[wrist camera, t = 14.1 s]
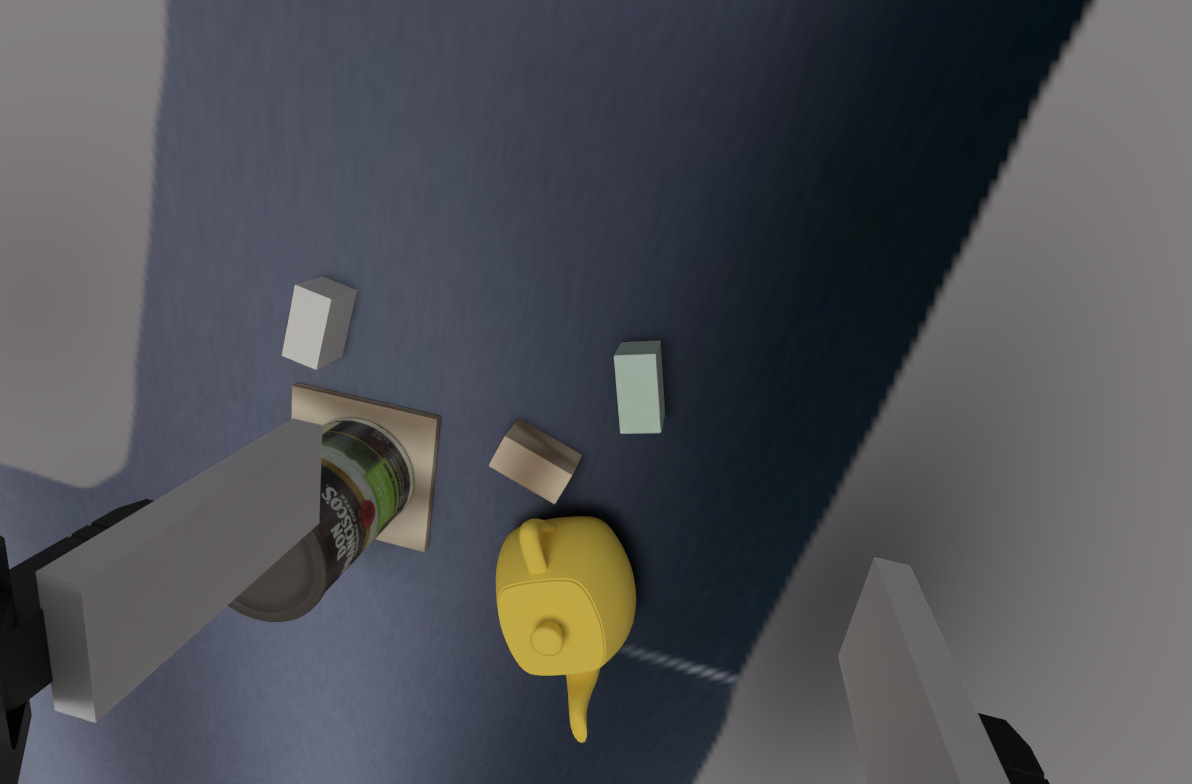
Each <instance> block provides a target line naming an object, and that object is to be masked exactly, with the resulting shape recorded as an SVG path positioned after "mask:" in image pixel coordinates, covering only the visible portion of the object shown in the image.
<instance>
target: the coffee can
mask: <svg viewBox="0 0 1192 784" xmlns="http://www.w3.org/2000/svg"><path fill="white" fill-rule="evenodd" d="M413 487H414V475H413V469H412V466H411V463H410V460H409V458H408V456H407V454H406V452H405V450H404V449H403V447H402V446H401V444H400V443H399V442H398V441H397V440H396V439H395V437H394V436H392V435H391V434H390V433H389V432H388V431H387V430H385V429H384V428H382V427H380V426H379V425H377V424H375V423H373V422H370V421H367V420H364V419H360V418H353V417H343V418H338V419H334V420H331V421H329V422H327V423H325V424H323V425H322V455H321V486H320V517H319V524H318V525H317V526H316V527H315V528H313V529H312V530H311V531H310V532H309V533H308V534H307V535H306V536H304V537H303V538H302V539H301V540H300V541H299V542H298V543H297V544H296V545H294V546H293V547H292V548H291V549H290V550H289V551H288V552H287V553H285V554H284V555H283V556H282V557H281V558H280V559H279V560H278V561H277V562H275V563H274V564H273V565H272V566H271V567H270V568H269V569H268V570H266V571H265V572H264V573H263V574H262V575H261V576H260V577H259V578H257V579H256V580H255V581H254V582H253V583H252V584H251V585H250V586H249V587H247V588H246V589H245V590H244V591H243V592H242V593H241V594H240V595H238V596H237V597H236V598H235V599H234V600H233V601H232V602H231V603H229V604H228V606H229V607H231V608H233V609H234V610H236V611H238V612H240V613H241V614H244V615H246V616H248V617H251V618H254V619H257V620H261V621H268V622H283V621H290V620H294V619H297V618H300V617H301V616H303V615H305V614H307V613H308V612H309V611H311V610H312V609H313V608H314V607H315V606H316V604H317V603H318V602H319V601H320V600H321V598H322V597H323V595H324V593H325V592H326V591H327V590H328V589H329V587H330V586H331V585H332V584H333V583H334V582H335V581H336V580H337V579H338V578H339V577H340V576H341V575H342V574H343V573H344V571H345V570H346V569H347V568H348V567H349V566H350V565H351V564H352V563H353V562H354V561H355V560H356V559H357V558H358V556H359V555H360V554H361V553H362V552H363V551H364V550H365V549H366V548H367V547H368V546H369V545H370V544H371V543H372V542H373V541H374V540H375V538H376V537H377V536H378V535H379V534H380V533H381V532H382V531H383V530H384V529H385V528H386V527H387V526H388V525H389V524H390V522H391V521H393V520H394V518H395V517H397V516H398V515H399V514H400V513H401V512H402V511H403V510H404V509H405V508H406V506H407V505H408V503H409V501H410V499H411V496H412V492H413Z"/></svg>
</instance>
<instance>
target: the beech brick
mask: <svg viewBox="0 0 1192 784" xmlns="http://www.w3.org/2000/svg"><path fill="white" fill-rule="evenodd" d="M581 457H582V455H581V454H580V453H578V452H576V451H574V450H573V449H571V448H569V447H568V446H566V445H564V444H562V443H561V442H559V441H557V440H556V439H554V438H552V437H550V436H549V435H547V434H545V433H544V432H542V431H540V430H538V429H537V428H535V427H533V426H532V425H530V424H528V423H526V422H525V421H523V420H521V419H520V418H519V419H518V420H517V422H516V423H515V424H514V425H513V426H512V428H511V429H510V430H509V431H508V433H507V434H506V435H505V437H504V439H503V440H502V442H501V444H500V446H499V448H498V450H497V451H496V453H495V455H494V457H493V459H492V461H491V462H490V464H489V466H490V467H491V468H493V469H495V470H497V471H498V472H500V473H502V474H503V475H505V476H507V477H509V478H510V479H512V480H514V481H516V482H517V483H519V484H521V485H522V486H524V487H526V488H528V489H529V490H531V491H533V492H534V493H536V494H538V495H540V496H541V497H543V498H545V499H546V500H548V501H550V502H552V503H553V504H555V503H556V502H557V500H558V498H559V497H560V495H561V493H562V492H563V490H564V488H565V487H566V485H567V483H568V482H569V480H570V478H571V477H572V475H573V473H574V471H575V469H576V467H577V465H578V463H579V461H580V459H581Z"/></svg>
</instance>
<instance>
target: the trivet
mask: <svg viewBox="0 0 1192 784" xmlns="http://www.w3.org/2000/svg"><path fill="white" fill-rule="evenodd" d="M343 417H353V418H360V419H364V420H367V421H370V422H373V423H375V424H377V425H379V426H380V427H382V428H384V429H385V430H387V431H388V432H389V433H390V434H391V435H392V436H394V437H395V439H396V440H397V441H398V442H399V443H400V444H401V446H402V447H403V449H404V450H405V452H406V454H407V456H408V458H409V460H410V463H411V466H412V469H413V475H414V487H413V492H412V496H411V499H410V501H409V503H408V505H407V506H406V508H405V509H404V510H403V511H402V512H401V513H400V514H399V515H398V516H397V517H395V518H394V520H393V521H391V522H390V524H389V525H388V526H387V527H386V528H385V529H384V530H383V531H382V532H381V533H380V534H379V535H378V536H377V537H376V538H375V540H379V541H383V542H387V543H391V544H395V545H399V546H403V547H407V548H411V549H414V550H418V551H422V552H425V551H426V549H427V548H428V542H429V532H430V522H431V512H432V501H433V491H434V481H435V471H436V460H437V450H438V440H439V430H440V419H441V416H438V415H434V414H430V413H425V412H421V411H417V410H412V409H408V408H404V407H399V406H395V405H391V404H387V403H382V402H378V401H374V400H369V399H365V398H361V397H357V396H352V395H348V394H344V393H339V392H335V391H331V390H326V389H322V388H318V387H314V386H309V385H305V384H301V383H296V384H294V385H293V386H292V419H293V418H294V419H298V420H303V421H307V422H311V423H315V424H319V425H323V424H325V423H327V422H329V421H331V420H334V419H338V418H343Z"/></svg>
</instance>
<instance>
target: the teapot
mask: <svg viewBox="0 0 1192 784" xmlns="http://www.w3.org/2000/svg"><path fill="white" fill-rule="evenodd" d="M496 596H497V607H498V613H499V619H500V623H501V628H502V631H503V634H504V637H505V640H506V642H507V644H508V647H509V649H510V651H511V653H512V654H513V656H514V658H515V660H516V661H517V663H518V664H519V665H520V666H521V667H522V669H523V670H525V671H526V672H528V673H530V674H533V675H542V676H545V675H566V678H567V686H568V699H569V715H570V724H571V729H572V732H573V734H574V736H575V738H576V739H577V741H579V742H581V743H583V742H585V740H586V737H587V721H586V716H587V707H588V702H589V699H590V696H591V693H592V691H593V688H594V686H595V683H596V681H597V678H598V675H599V671H600V667H602V666H603V665H604V664H605V663H606V662H608V661H609V660H610V659H611V658H612V657H613V656H614V655H615V654H616V652H617V651H618V650H619V649H620V647H621V646H622V645H623V643H624V642H625V640H626V638H627V636H628V634H629V632H630V629H631V626H632V624H633V620H634V616H635V609H636V588H635V581H634V576H633V571H632V568H631V565H630V562H629V560H628V557H627V555H626V553H625V551H624V549H623V547H622V545H621V543H620V541H619V540H618V538H617V536H616V535H615V534H614V532H613V531H612V529H611V528H610V527H609V526H608V525H607V524H606V523H605V522H603V521H602V520H600V519H598V518H595V517H589V516H575V517H562V518H553V519H548V520H541V519H529V520H527V521H525V522H524V523H523V524H522V525H521V526H520V527H518V528H517V529H515V530H513V531H512V532H511V533H510V534H509V535H508V536H507V538H506V539H505V541H504V543H503V545H502V548H501V551H500V555H499V559H498V563H497V570H496Z"/></svg>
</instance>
